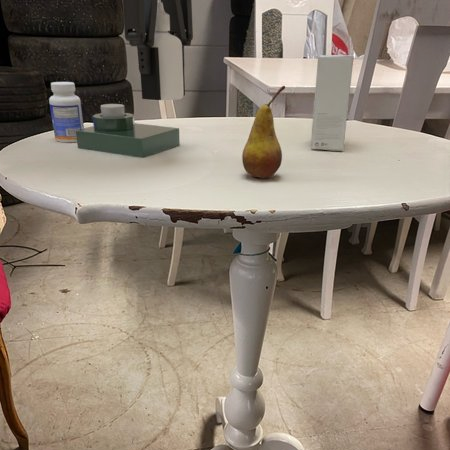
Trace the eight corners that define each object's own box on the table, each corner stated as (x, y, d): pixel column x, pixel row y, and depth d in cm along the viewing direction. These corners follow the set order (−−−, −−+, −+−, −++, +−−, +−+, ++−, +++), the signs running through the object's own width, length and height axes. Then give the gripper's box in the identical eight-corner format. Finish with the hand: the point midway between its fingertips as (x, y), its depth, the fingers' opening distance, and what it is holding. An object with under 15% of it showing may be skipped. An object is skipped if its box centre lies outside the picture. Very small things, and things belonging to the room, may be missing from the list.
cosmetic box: (343, 152, 81) (356, 55, 74) (308, 150, 82) (317, 54, 75) (342, 142, 88) (354, 53, 81) (310, 140, 89) (319, 53, 82)
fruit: (266, 169, 70) (271, 81, 64) (287, 179, 66) (295, 86, 60) (233, 173, 68) (235, 83, 62) (253, 183, 64) (257, 87, 58)
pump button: (97, 118, 81) (95, 105, 80) (112, 115, 84) (110, 103, 83) (115, 120, 79) (113, 107, 78) (130, 117, 82) (128, 105, 81)
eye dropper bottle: (146, 97, 70) (140, 2, 64) (184, 97, 71) (181, 3, 65) (143, 100, 67) (137, 1, 61) (183, 101, 67) (180, 1, 61)
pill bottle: (62, 136, 90) (53, 80, 85) (89, 137, 89) (82, 81, 84) (50, 142, 85) (40, 83, 80) (79, 143, 85) (71, 84, 80)
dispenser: (77, 148, 81) (73, 117, 79) (118, 137, 90) (115, 109, 87) (143, 157, 76) (140, 125, 73) (179, 145, 84) (178, 116, 82)
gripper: (131, -134, 48) (147, 106, 60) (217, -96, 63) (217, 92, 74) (76, -126, 51) (101, 102, 63) (170, -90, 66) (177, 89, 77)
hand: (164, 96), depth 69 cm, fingers closed on eye dropper bottle, 6 cm apart
